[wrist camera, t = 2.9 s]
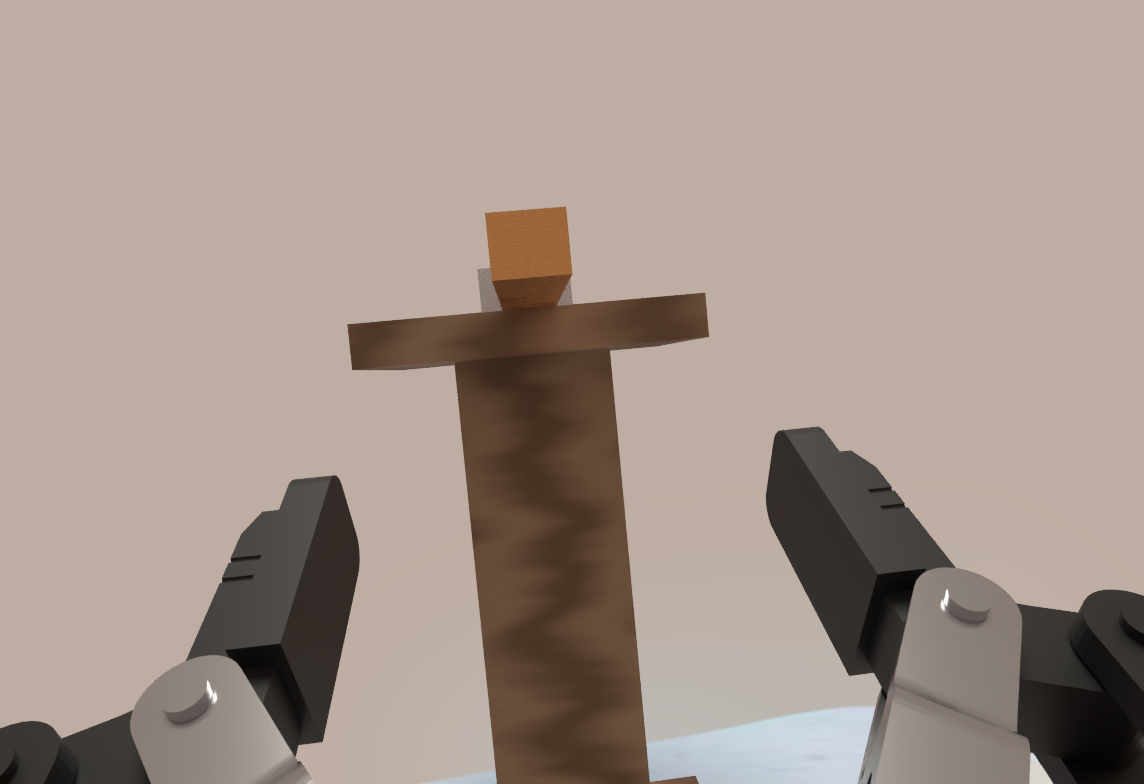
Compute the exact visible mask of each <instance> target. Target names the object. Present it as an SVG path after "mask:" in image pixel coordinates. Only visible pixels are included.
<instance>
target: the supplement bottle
mask: <svg viewBox="0 0 1144 784" xmlns="http://www.w3.org/2000/svg"><path fill="white" fill-rule="evenodd" d="M1029 784H1053V783H1052V781H1051V779H1050V778H1049V776H1048V775H1047V773H1046V772H1045V770H1044V769H1043V767H1042V765H1040V764H1038V763H1035V762H1032V761H1030V782H1029Z"/></svg>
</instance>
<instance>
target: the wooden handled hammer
mask: <svg viewBox="0 0 1144 784" xmlns="http://www.w3.org/2000/svg"><path fill="white" fill-rule="evenodd" d="M485 216H486V226H487V236H488V247H489V257H490V267H491V268H488V269H487V268H486V269H478V278H479V289H480V299H481V309H482V313H483V312H494V311H505V310H517V309H528V308H539V307H550V306H562V305H573V304H572V293H571V283H570V278H571V276H572V266H571V256H570V245H569V235H568V224H567V213H566V207H557V208H544V209H531V210H519V211H507V212H493V213H485Z"/></svg>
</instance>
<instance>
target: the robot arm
mask: <svg viewBox="0 0 1144 784" xmlns="http://www.w3.org/2000/svg"><path fill="white" fill-rule="evenodd" d="M766 505H767V512H768V516H769V520H770V523H771V526H772V528H773V530H774V532H775V534H776V536H777V538H778V540H779V541H780V543H781V545H782V547H783V549H784V551H785V553H786V555H787V557H788V559H789V561H790V563H791V565H792V567H793V568H794V570H795V572H796V574H797V576H798V578H799V580H800V582H801V584H802V586H803V587H804V590H805V592H806V593H807V595H808V597H809V599H810V601H811V603H812V605H813V607H814V609H815V611H816V612H817V615H818V617H819V619H820V620H821V623H822V624H823V626H824V628H825V630H826V632H827V634H828V636H829V638H830V640H831V642H832V644H833V646H834V648H835V649H836V651H837V653H838V655H839V657H840V659H841V661H842V663H843V665H844V667H845V669H846V671H847V673H848V675H849V676H852V675H859V674H867V673H874V674H875V675H876V677H877V679H878V681H879V683H880V685H881V686H882V687H881V690H880V693H879V696H878V700H877V704H876V708H875V712H874V717H873V721H872V725H871V729H870V733H869V738H868V742H867V746H866V750H865V755H864V759H863V763H862V767H861V772H860V776H859V780H858V784H1029V782H1030V752H1031V753H1034V754H1035V756H1036V758H1037V759H1038V761H1039V762H1040V764H1041V765H1042V767H1043V769H1044V770H1045V772H1046V773H1047V775H1048V776H1049V778H1050V779H1051V781H1052V783H1053V784H1144V596H1142V595H1139V594H1136V593H1132V592H1128V591H1122V590H1102V591H1097V592H1094V593H1092V594H1091V595H1089V596H1088V597H1087V598H1086V599H1085V600H1084V602H1083V604H1082V606H1081V608H1080V610H1079V612H1078V613H1076V612H1069V611H1062V610H1056V609H1049V608H1042V607H1041V608H1040V607H1035V606H1028V605H1022V604H1017V603H1015V601H1014V600H1013V599H1012V597H1011V596H1010V595H1009V594H1008V593H1007V592H1006V591H1005V590H1003V589H1002V588H1001V587H1000V586H998V585H997V584H995V583H994V582H992V581H991V580H989V579H987V578H985V577H983V576H981V575H979V574H976V573H973V572H970V571H967V570H963V569H957V568H955V566H954V565H953V564H952V563H951V561H950V560H949V559H948V558H947V556H946V555H945V554H944V552H943V551H942V550H941V549H940V547H939V546H938V545H937V544H936V542H935V541H934V540H933V539H932V537H931V536H930V535H929V534H928V532H927V531H926V530H925V529H924V527H923V526H922V525H921V523H920V522H919V521H918V520H917V518H916V517H915V516H914V515H913V513H912V512H911V511H910V509H909V508H905V505H904V502H903V501H902V499H901V498H900V497H899V496H898V494H897V493H896V492H895V491H892V489H891V486H890V484H889V483H888V482H887V480H886V479H885V478H884V477H883V475H882V474H881V473H880V472H879V470H878V469H877V468H876V467H875V466H874V465H872V464H870V463H869V462H868V461H866V460H865V459H863V458H862V457H860V456H858V455H857V454H855V453H854V452H852V451H842V452H839V450H838V449H837V448H836V446H835V445H834V444H833V442H832V441H831V439H830V438H829V437H828V435H827V434H826V433H825V431H824V430H823V429H822V428H820V427H810V428H801V429H791V430H781V431H778V432H777V433H776V435H775V438H774V443H773V449H772V456H771V463H770V471H769V478H768V485H767V493H766ZM359 561H360V560H359V544H358V539H357V535H356V532H355V528H354V525H353V521H352V518H351V515H350V512H349V508H348V505H347V501H346V498H345V495H344V491H343V488H342V485H341V482H340V480H339V478H338V477H337V476H335V475H334V476H324V477H316V478H305V479H296V480H292V481H291V482H290V484H289V486H288V488H287V491H286V493H285V496H284V499H283V501H282V504H281V506H280V509H279V510H275V511H266V512H262V513H261V514H260V515H259V516H258V517H257V518H256V519H255V520H254V521H253V522H252V523H251V524H250V526H249V527H248V528H247V529H246V530H245V531H244V532H243V533H242V534H241V536H240V538H239V540H238V543H237V545H236V547H235V550H234V552H233V554H232V557H231V563H228V566H227V568H226V570H225V572H224V575H223V577H222V583H220V584H219V586H218V589H217V591H216V593H215V595H214V598H213V600H212V602H211V605H210V607H209V609H208V612H207V614H206V616H205V618H204V621H203V623H202V625H201V628H200V630H199V632H198V634H197V637H196V639H195V641H194V644H193V646H192V648H191V651H190V653H189V655H188V658H187V659H186V661H185V662H183V663H181V664H179V665H177V666H175V667H173V668H171V669H170V670H168V671H167V672H165V673H164V674H162V675H161V676H160V677H159V678H158V679H157V680H155V681H154V682H153V683H152V684H151V685H150V686H149V687H148V688H147V689H146V690H145V692H144V693H143V694H142V696H141V697H140V699H139V700H138V702H137V703H136V705H135V707H134V710H132V711H130V712H128V713H126V714H123V715H121V716H119V717H116V718H114V719H111V720H109V721H106V722H103V723H101V724H98V725H96V726H93V727H90V728H88V729H85V730H83V731H80V732H78V733H75V734H73V735H70V736H67V737H65V738H62V739H61V737H60V736H59V735H58V734H57V732H56V731H55V730H54V729H53V727H51V726H50V725H48V724H46V723H43V722H37V721H28V722H20V723H16V724H12V725H9V726H6V727H4V728H1V729H0V784H315V783H314V781H313V780H312V778H311V777H310V775H309V773H308V772H307V770H306V769H305V767H304V766H303V765H302V763H301V762H300V761H299V762H298V761H297V759H296V758H295V757H296V753H297V749H298V745H302V744H311V743H318V742H323V738H324V733H325V728H326V724H327V718H328V714H329V709H330V704H331V700H332V695H333V690H334V685H335V681H336V676H337V672H338V667H339V662H340V658H341V653H342V648H343V643H344V639H345V634H346V629H347V624H348V620H349V615H350V610H351V606H352V601H353V596H354V592H355V587H356V582H357V577H358V572H359Z"/></svg>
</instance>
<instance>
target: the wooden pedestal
mask: <svg viewBox="0 0 1144 784" xmlns="http://www.w3.org/2000/svg"><path fill="white" fill-rule="evenodd" d="M348 334H349V343H350V353H351V362H352V370H407V369H418V368H429V367H439V366H450V365H455V372H456V382H457V393H458V402H459V411H460V422H461V432H462V442H463V451H464V460H465V471H466V481H467V491H468V501H469V511H470V521H471V531H472V539H473V540H472V541H473V550H474V560H475V570H476V580H477V590H478V600H479V609H480V619H481V629H482V638H483V648H484V659H485V669H486V679H487V688H488V698H489V708H490V718H491V727H492V737H493V747H494V758H495V767H496V777H497V784H699V783H698V781H697V778H696V776H691V777H684V778H676V779H669V780H662V781H655V782H650V781H649V770H648V759H647V748H646V739H645V727H644V716H643V705H642V694H641V683H640V674H639V662H638V651H637V640H636V630H635V620H634V608H633V597H632V586H631V575H630V564H629V553H628V543H627V532H626V521H625V510H624V499H623V489H622V478H621V467H620V456H619V446H618V434H617V423H616V413H615V403H614V391H613V380H612V369H611V358H610V350H621V349H632V348H643V347H653V346H661V345H666V344H671V343H677V342H683V341H688V340H693V339H699V338H705V337H709V331H708V320H707V308H706V298H705V293H698V294H686V295H675V296H664V297H652V298H641V299H629V300H619V301H607V302H596V303H585V304H573V305H562V306H550V307H539V308H528V309H517V310H505V311H494V312H483V313H471V314H460V315H449V316H438V317H428V318H427V317H426V318H417V319H416V318H415V319H403V320H392V321H381V322H371V323H359V324H348Z"/></svg>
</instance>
